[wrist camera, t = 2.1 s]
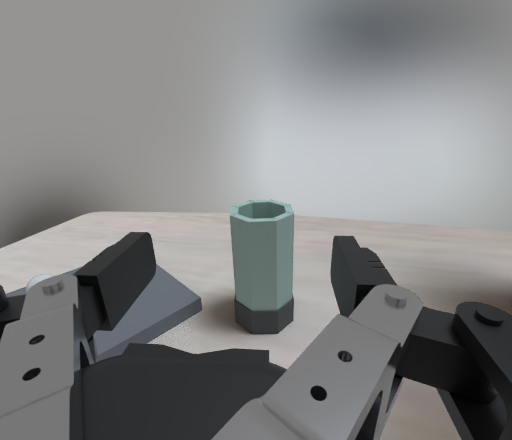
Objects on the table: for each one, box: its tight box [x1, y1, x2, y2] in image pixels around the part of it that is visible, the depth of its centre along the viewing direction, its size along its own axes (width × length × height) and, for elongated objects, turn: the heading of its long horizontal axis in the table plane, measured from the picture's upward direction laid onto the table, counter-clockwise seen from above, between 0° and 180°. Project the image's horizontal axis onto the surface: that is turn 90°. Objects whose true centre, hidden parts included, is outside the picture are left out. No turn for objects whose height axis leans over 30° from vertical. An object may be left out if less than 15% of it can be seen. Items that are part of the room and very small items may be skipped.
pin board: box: [6, 264, 202, 361], centre depth 25 cm, size 22×16×6 cm
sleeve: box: [230, 200, 294, 334], centre depth 25 cm, size 6×6×11 cm
